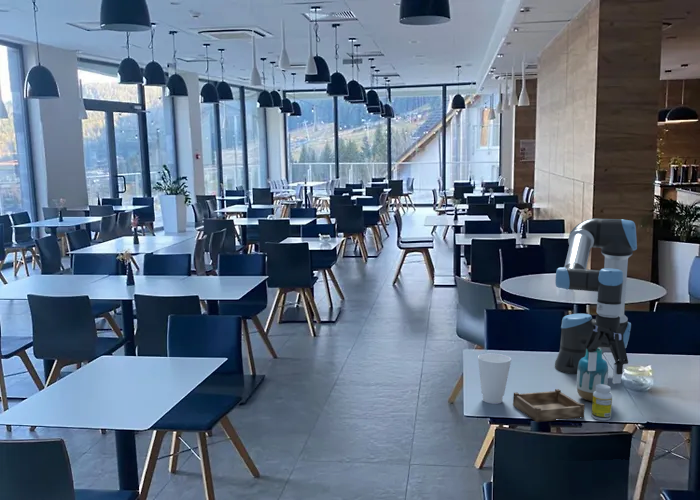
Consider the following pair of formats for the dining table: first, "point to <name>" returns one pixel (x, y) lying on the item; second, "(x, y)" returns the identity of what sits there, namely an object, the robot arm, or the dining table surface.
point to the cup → (493, 376)
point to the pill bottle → (602, 402)
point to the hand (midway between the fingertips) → (603, 376)
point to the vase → (591, 376)
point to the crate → (548, 406)
